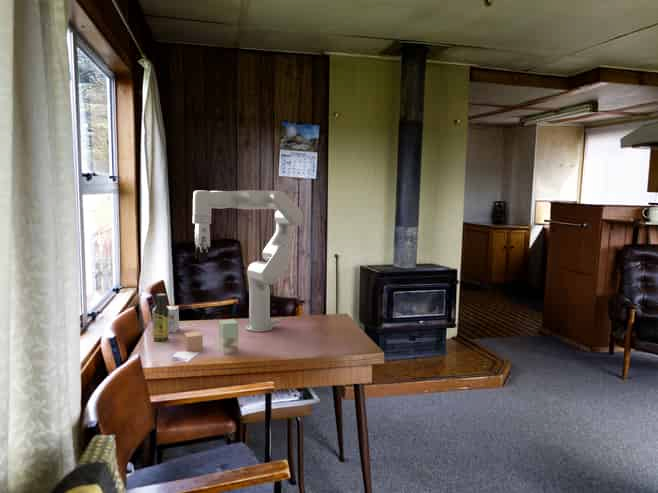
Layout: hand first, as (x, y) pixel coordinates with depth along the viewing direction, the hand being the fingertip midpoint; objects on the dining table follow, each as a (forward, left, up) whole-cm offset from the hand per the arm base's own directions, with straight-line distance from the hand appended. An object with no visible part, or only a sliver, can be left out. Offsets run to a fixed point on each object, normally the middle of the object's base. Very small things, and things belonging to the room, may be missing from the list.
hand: (201, 260), depth 210 cm
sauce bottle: (+16, -6, -35) cm, 39 cm away
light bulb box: (+12, -20, -35) cm, 42 cm away
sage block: (-6, +20, -28) cm, 35 cm away
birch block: (-6, +20, -34) cm, 40 cm away
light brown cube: (+6, +11, -34) cm, 37 cm away
